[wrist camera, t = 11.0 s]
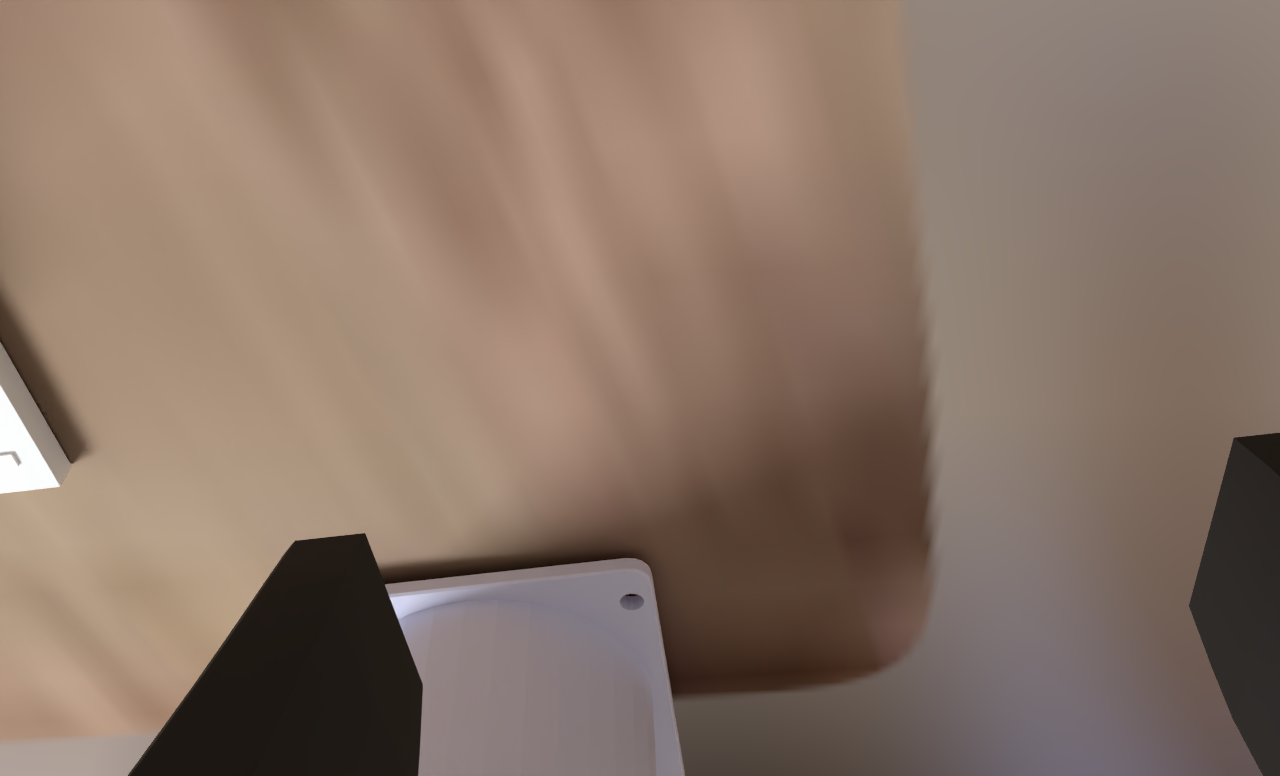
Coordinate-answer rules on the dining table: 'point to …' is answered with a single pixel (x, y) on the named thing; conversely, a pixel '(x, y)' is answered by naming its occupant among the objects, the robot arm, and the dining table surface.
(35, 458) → the white board
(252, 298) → the dining table surface
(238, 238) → the dining table surface
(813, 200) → the dining table surface
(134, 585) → the dining table surface
